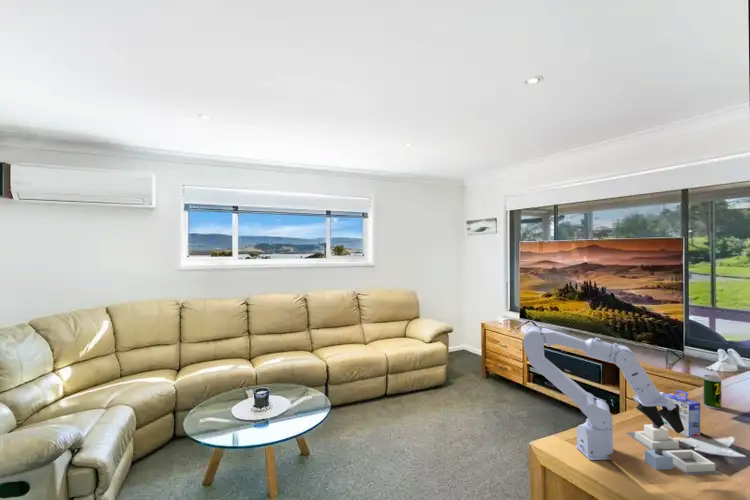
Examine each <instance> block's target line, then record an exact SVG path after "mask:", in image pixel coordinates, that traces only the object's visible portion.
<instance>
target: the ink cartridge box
mask: <svg viewBox="0 0 750 500" xmlns="http://www.w3.org/2000/svg"><path fill="white" fill-rule="evenodd" d="M680 393H682V394H683V395H682V394H680ZM664 394H665V395H664V397H666V398H667V399H669V400H672V401H673V403H674V404H678V406H679V413H680V418H681V421H682V424H683V427H684V431H682V432H681V433H680V434H681V435H683V436H685V437H688V438H690V437H691V438H692V437H693V438H694V437H699V436H701V403H700V402H698V401H695V400H693V399H690V398H688V397H689V395H690V394H689V392H686V391H684V390H681V389H677V390H676V392H675V393H671V392H670V393H669V392H668V393H664ZM661 409H662V407H660V410H661ZM661 417H662V416H661ZM662 419H663V421H664V425H663V427H665V428H666V429H667V428H668V429H670V430H672V431H675V430H674V429H673V428H672V427H671V425H670V424H669V423H668V422H667V421H666V420H665V419H664V418H663V417H662ZM675 432H676V431H675Z"/></svg>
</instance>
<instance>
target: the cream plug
mask: <svg viewBox="0 0 750 500" xmlns="http://www.w3.org/2000/svg"><path fill="white" fill-rule="evenodd" d="M643 431H644V436H646V437H647V438H649V439H650V440H652V441H669V435H670V432H669V431H670V430H669V428H668V429H667V427H665V426H661V427H660V428H659V427H657V426H656V425H655V424H654V423H653V422H652V423H650V424H643Z"/></svg>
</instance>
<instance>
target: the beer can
mask: <svg viewBox="0 0 750 500" xmlns="http://www.w3.org/2000/svg"><path fill="white" fill-rule="evenodd" d="M702 384H703V386H702V387H703V390H702V391H703V393H702V394H703V404H704V407H705V408H707V409H712V410H721V408H722V403H723V402H722V401H723V400H722V379H721V377H720V376H718V375H715V374H713V375H712V374H704V375H703V383H702Z"/></svg>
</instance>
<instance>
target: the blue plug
mask: <svg viewBox="0 0 750 500" xmlns="http://www.w3.org/2000/svg"><path fill="white" fill-rule="evenodd" d="M644 463H646V464H647V465H648V466H650V467H652V469H654V470H658V471H659V470H661V471H662V470H674V466H673V457H672V456H671V455H669V454H668V453H666V452H665V451H663V450H662V448H661V447H659V446H655V450H650V449H645V450H644Z"/></svg>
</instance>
